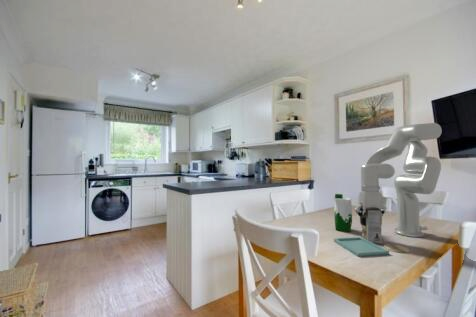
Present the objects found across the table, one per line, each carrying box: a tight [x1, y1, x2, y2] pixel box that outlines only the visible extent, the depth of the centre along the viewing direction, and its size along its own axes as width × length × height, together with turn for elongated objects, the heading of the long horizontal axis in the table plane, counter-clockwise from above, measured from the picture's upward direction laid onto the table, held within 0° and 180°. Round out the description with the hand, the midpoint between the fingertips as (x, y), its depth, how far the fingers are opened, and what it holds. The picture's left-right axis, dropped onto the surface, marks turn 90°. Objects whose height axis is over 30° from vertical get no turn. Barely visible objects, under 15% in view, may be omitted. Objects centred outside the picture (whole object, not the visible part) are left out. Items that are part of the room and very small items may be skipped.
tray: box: [333, 236, 390, 258], centre depth 102 cm, size 14×18×2 cm
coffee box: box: [361, 208, 383, 244], centre depth 111 cm, size 9×6×16 cm
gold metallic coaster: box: [383, 243, 410, 254], centre depth 100 cm, size 9×9×1 cm
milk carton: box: [333, 193, 353, 233], centre depth 129 cm, size 9×9×20 cm
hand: (371, 224), depth 111 cm, fingers closed on coffee box, 7 cm apart
